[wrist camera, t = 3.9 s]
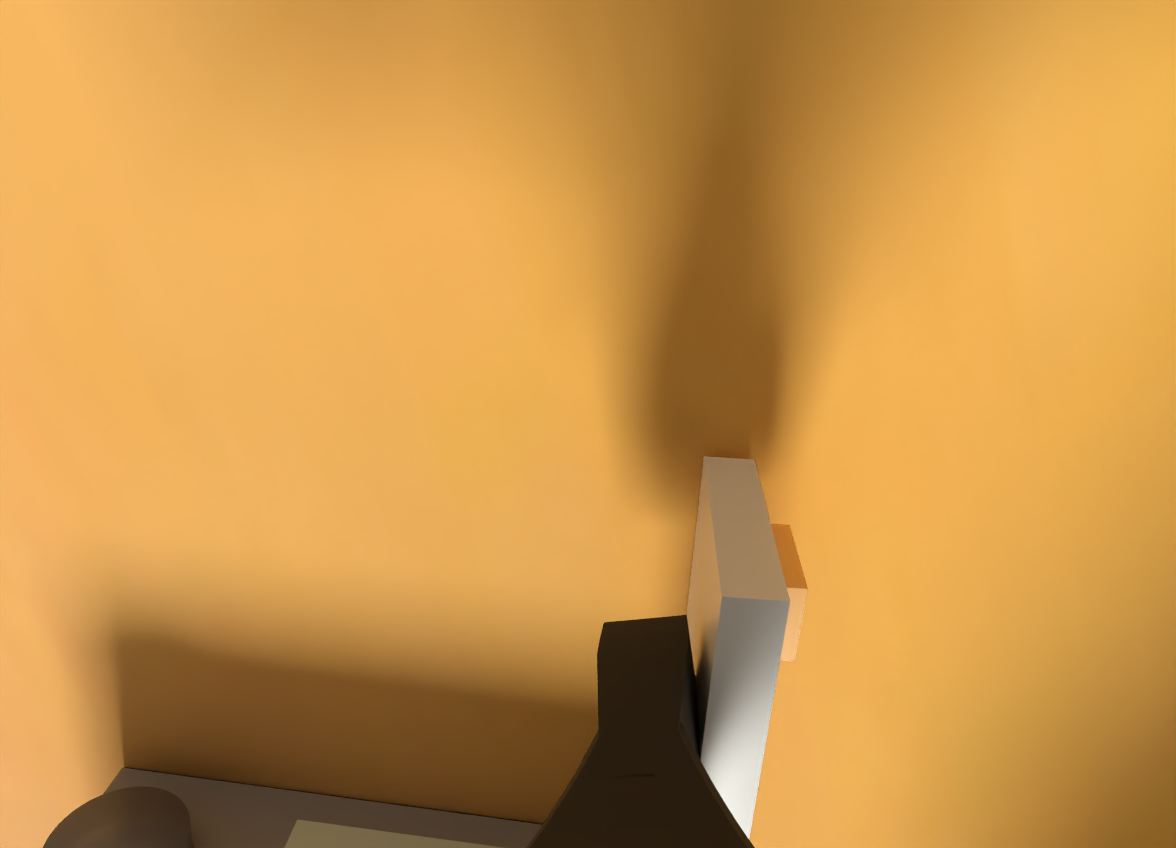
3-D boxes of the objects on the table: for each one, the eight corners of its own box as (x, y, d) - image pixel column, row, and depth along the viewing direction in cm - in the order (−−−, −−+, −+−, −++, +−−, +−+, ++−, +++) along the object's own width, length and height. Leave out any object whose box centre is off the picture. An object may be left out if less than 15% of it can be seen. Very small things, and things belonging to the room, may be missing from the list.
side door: (722, 838, 17) (741, 1048, 13) (658, 833, 17) (660, 1040, 13) (781, 456, 13) (829, 604, 10) (699, 450, 13) (718, 596, 10)
